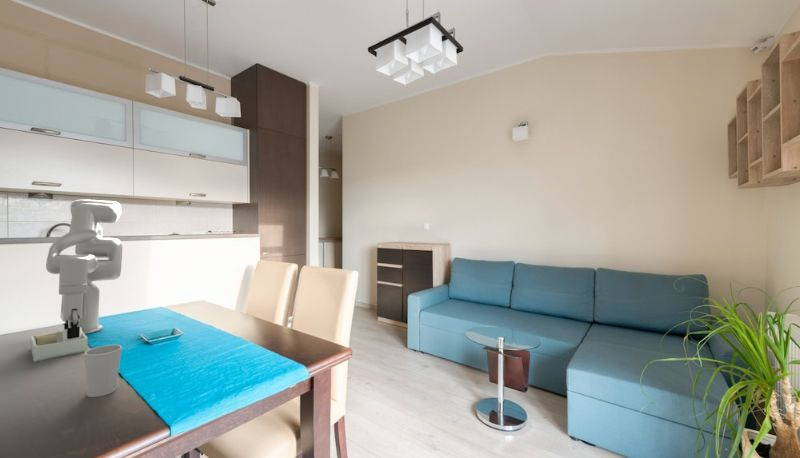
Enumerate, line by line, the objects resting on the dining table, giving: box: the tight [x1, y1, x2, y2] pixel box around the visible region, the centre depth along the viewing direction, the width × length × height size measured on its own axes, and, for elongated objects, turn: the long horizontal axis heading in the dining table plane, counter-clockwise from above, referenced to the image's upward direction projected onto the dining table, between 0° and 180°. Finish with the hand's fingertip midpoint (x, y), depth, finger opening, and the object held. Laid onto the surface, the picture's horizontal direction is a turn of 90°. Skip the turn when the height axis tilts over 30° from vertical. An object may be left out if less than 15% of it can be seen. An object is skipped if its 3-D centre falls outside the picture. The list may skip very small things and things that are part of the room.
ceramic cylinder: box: [62, 327, 82, 342], centre depth 122 cm, size 5×5×7 cm
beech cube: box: [35, 331, 57, 346], centre depth 120 cm, size 5×5×5 cm
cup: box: [83, 344, 123, 398], centre depth 92 cm, size 8×8×12 cm
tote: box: [30, 330, 89, 363], centre depth 120 cm, size 17×13×5 cm
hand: (71, 335), depth 121 cm, fingers open, 7 cm apart
